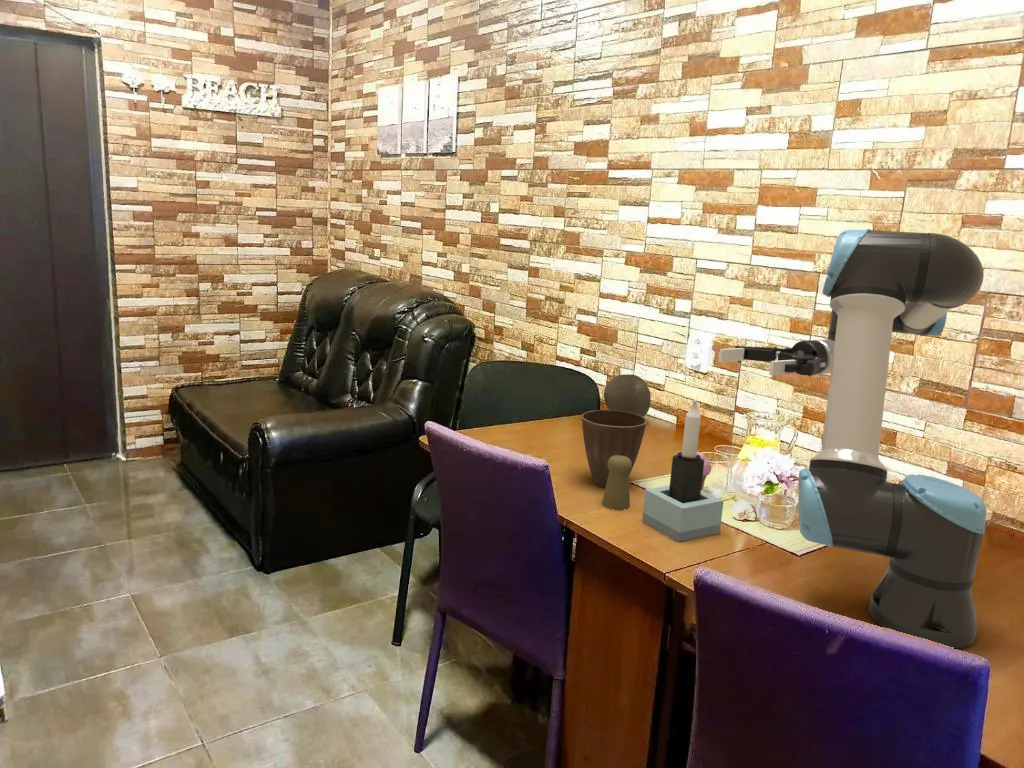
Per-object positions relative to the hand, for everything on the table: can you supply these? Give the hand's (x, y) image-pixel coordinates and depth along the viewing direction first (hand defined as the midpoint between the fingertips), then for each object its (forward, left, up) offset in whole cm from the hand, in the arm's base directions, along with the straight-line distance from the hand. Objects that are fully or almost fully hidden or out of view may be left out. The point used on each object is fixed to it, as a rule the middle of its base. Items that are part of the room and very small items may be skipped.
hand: (744, 361), depth 151 cm
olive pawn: (+15, +18, -34) cm, 41 cm away
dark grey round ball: (+70, -28, -34) cm, 83 cm away
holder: (0, +13, -34) cm, 36 cm away
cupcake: (+15, -3, -34) cm, 37 cm away
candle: (0, +13, -32) cm, 34 cm away
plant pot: (+27, +11, -34) cm, 45 cm away
